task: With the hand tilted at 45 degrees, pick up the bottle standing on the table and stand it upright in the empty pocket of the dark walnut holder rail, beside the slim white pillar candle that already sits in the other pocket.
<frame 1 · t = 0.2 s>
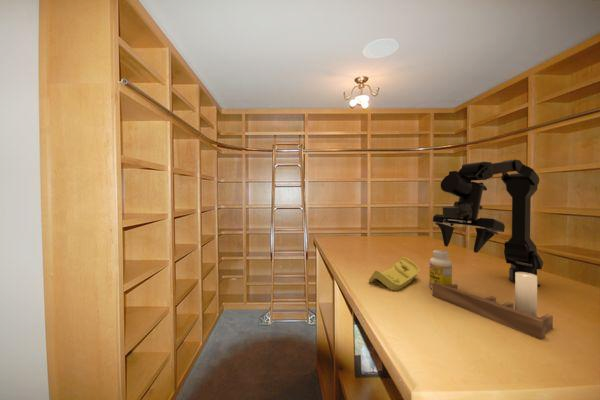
hand: (459, 249, 73), 15 cm above the table, tool tilted 15°, fingers open, 9 cm apart
walnut holder rail: (469, 301, 71), on the table
white pillar candle: (525, 321, 59), on the table
plastic component: (396, 282, 88), on the table
supplement bottle: (440, 289, 81), on the table
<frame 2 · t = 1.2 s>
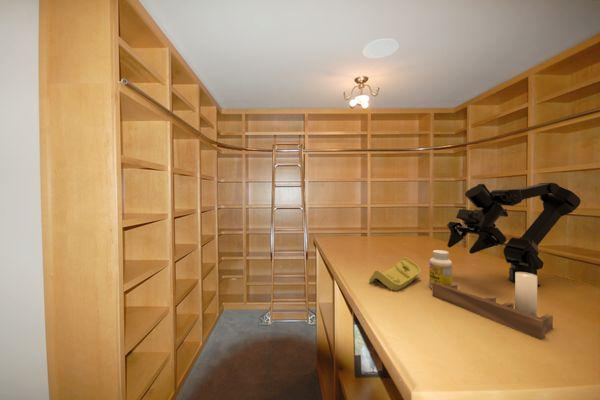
hand: (458, 249, 81), 13 cm above the table, tool tilted 45°, fingers open, 9 cm apart
nothing on the table moved.
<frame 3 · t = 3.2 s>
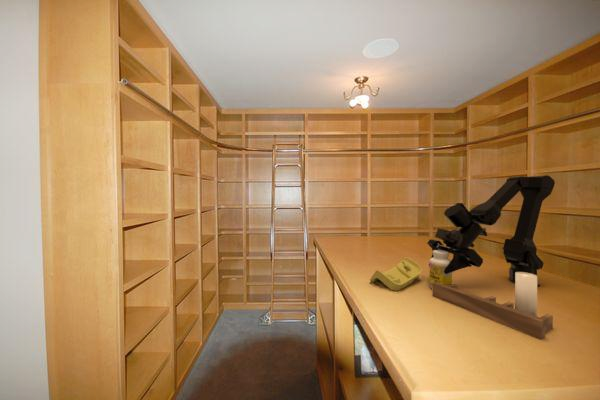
hand: (436, 269, 80), 7 cm above the table, tool tilted 45°, fingers closed on supplement bottle, 7 cm apart
supplement bottle: (440, 289, 81), on the table, touching gripper
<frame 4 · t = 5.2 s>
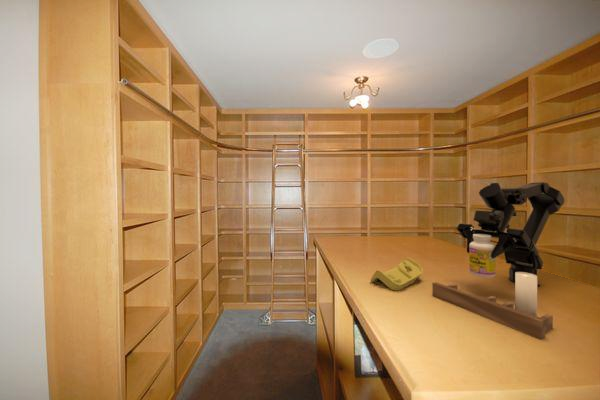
hand: (479, 254, 75), 13 cm above the table, tool tilted 45°, fingers closed on supplement bottle, 7 cm apart
supplement bottle: (482, 275, 76), point 6 cm above the table, touching gripper
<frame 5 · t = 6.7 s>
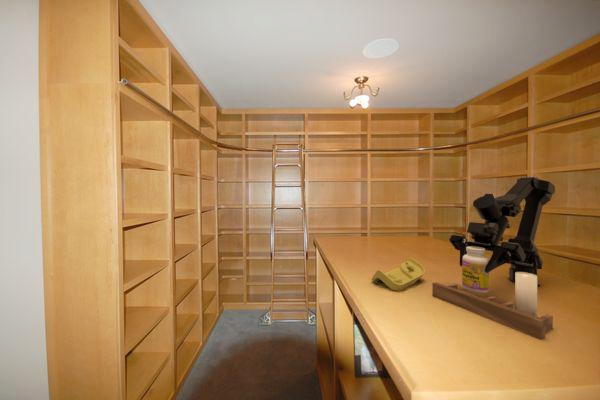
hand: (472, 268, 72), 10 cm above the table, tool tilted 45°, fingers closed on supplement bottle, 7 cm apart
supplement bottle: (475, 289, 72), point 3 cm above the table, touching gripper
when the fingers open (8 cm above the table, at t = 7.9 s): supplement bottle drops 1 cm, on the table.
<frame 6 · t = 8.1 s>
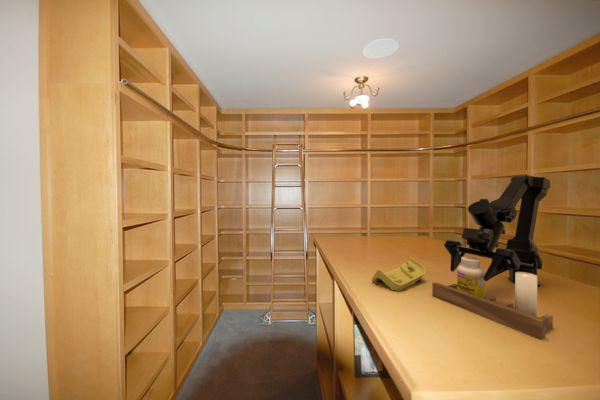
hand: (467, 275, 70), 8 cm above the table, tool tilted 45°, fingers open, 9 cm apart
supplement bottle: (470, 301, 71), on the table
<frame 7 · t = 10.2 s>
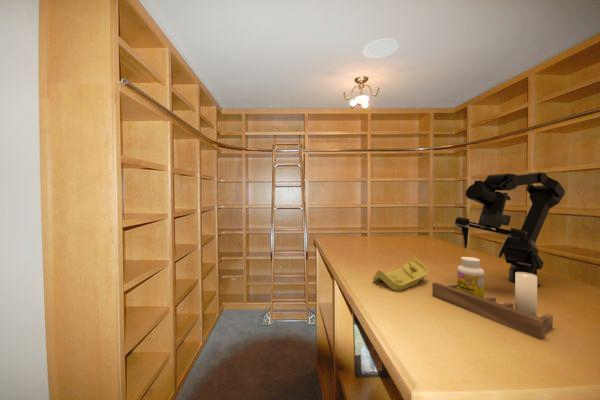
hand: (481, 252, 79), 12 cm above the table, tool tilted 20°, fingers open, 9 cm apart
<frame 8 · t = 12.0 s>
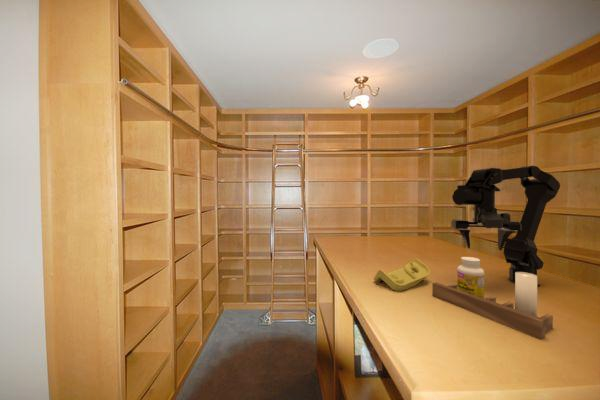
hand: (484, 249, 82), 13 cm above the table, tool pointing down, fingers open, 9 cm apart
at the end: supplement bottle 0.3 cm from the walnut holder rail (horizontally); supplement bottle tilted 0°; the gripper is holding nothing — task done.
